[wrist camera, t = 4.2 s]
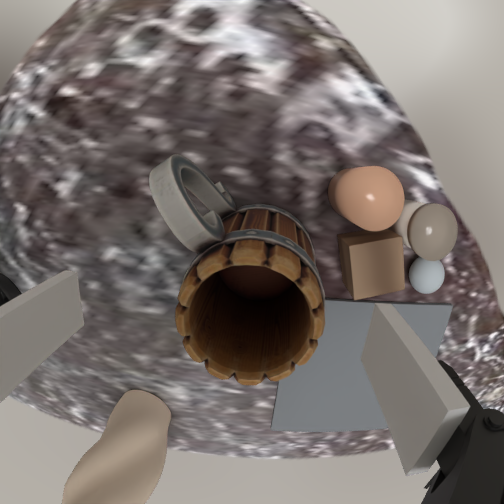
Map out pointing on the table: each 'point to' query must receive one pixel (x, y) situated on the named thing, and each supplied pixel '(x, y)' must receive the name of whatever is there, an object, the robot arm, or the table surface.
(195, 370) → the table surface
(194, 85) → the table surface
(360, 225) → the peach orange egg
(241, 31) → the table surface
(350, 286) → the walnut block
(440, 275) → the grey ball
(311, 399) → the slate pad
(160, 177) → the mug
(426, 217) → the jar
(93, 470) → the cream corked bottle
